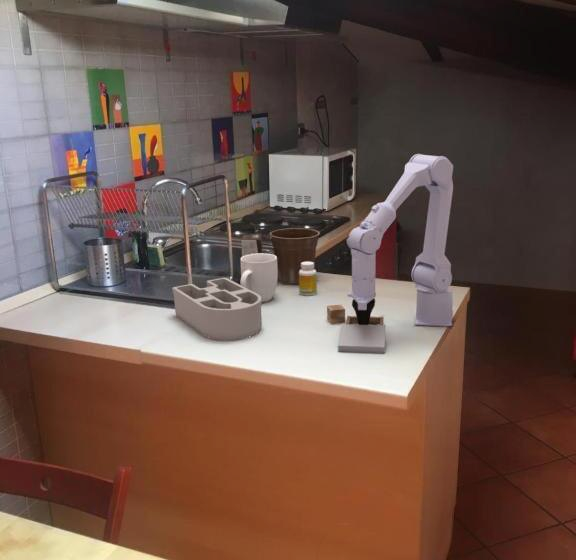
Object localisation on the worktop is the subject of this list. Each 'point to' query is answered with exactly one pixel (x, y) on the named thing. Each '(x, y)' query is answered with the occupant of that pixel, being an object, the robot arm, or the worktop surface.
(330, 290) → the worktop surface
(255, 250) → the coffee box
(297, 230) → the plant pot
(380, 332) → the lid
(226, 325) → the compartment caddy
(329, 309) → the beech block
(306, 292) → the supplement bottle
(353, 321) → the frame
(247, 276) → the mug
